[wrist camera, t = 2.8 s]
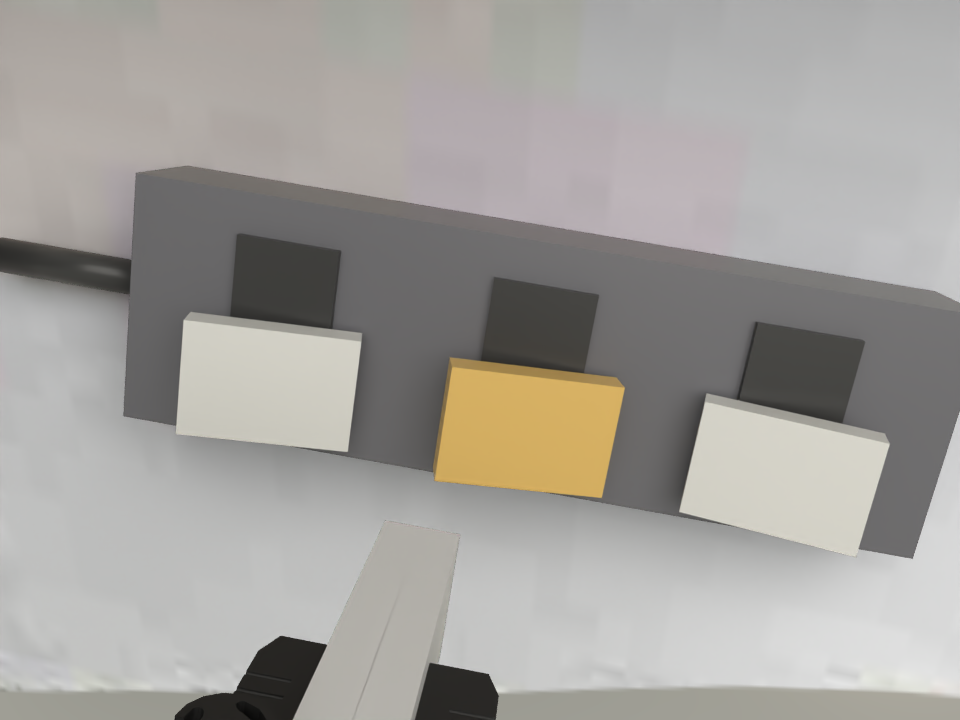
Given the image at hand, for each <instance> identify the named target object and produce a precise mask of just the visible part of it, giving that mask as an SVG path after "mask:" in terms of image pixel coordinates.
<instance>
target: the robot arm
mask: <svg viewBox="0 0 960 720" xmlns="http://www.w3.org/2000/svg"><path fill="white" fill-rule="evenodd" d="M459 538H460V534H455V533H450V532H445V531H439V530H434V529H429V528H424V527H418V526H413V525H408V524H402V523H397V522H392V521H386V520H385V522H384V524H383V526H382V528H381V531H380V533H379V535H378V537H377V539H376V541H375V543H374V546H373V548H372V550H371V552H370V554H369V556H368V559H367V561H366V563H365V565H364V567H363V569H362V572H361V574H360V576H359V578H358V580H357V582H356V584H355V587H354V589H353V591H352V593H351V595H350V597H349V600H348V602H347V604H346V606H345V608H344V610H343V613H342V615H341V617H340V619H339V621H338V623H337V626H336V628H335V630H334V632H333V634H332V636H331V638H330V641H329V643H328V645H325V644H320V643H315V642H310V641H305V640H300V639H295V638H290V637H285V636H280V637H278V638H277V639H275V640H274V641H272V642H271V643H269V644H268V645H266V646H265V647H263V648H262V649H260V650H259V651H258V652H257V654H256V656H255V657H254V659H253V661H252V663H251V664H250V666H249V668H248V669H247V672H246V675H244V676H243V678H242V680H241V681H240V683H239V685H238V686H237V690H236V691H234V693H233V694H231V693H220V694H214V695H208V696H203V697H201V698H199V699H197V700H195V701H193V702H190V703H188V704H187V705H186V706H184V707H183V708H182V709H181V710H180V711H179V712H178V713H177V714H176V715H175V720H496V713H497V704H498V697H499V696H498V693H497V691H496V689H495V687H494V685H493V683H492V680H491V678H490V676H489V674H485V673H480V672H475V671H470V670H465V669H460V668H454V667H449V666H444V665H439V664H438V662H439V658H440V653H441V647H442V641H443V635H444V629H445V623H446V617H447V611H448V605H449V599H450V593H451V587H452V581H453V575H454V569H455V563H456V557H457V551H458V544H459Z"/></svg>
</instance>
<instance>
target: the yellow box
mask: <svg viewBox="0 0 960 720" xmlns="http://www.w3.org/2000/svg"><path fill="white" fill-rule="evenodd" d="M624 390H625V387H624V386H623V385H622V384H621V382H620V381H619V380H618V379H617V377H608V376H600V375H592V374H584V373H575V372H567V371H559V370H551V369H542V368H534V367H526V366H518V365H509V364H501V363H493V362H485V361H477V360H468V359H460V358H452V357H450V359H449V365H448V372H447V378H446V385H445V391H444V398H443V405H442V411H441V418H440V424H439V431H438V437H437V444H436V450H435V457H434V463H433V472H434V480H435V481H440V482H450V483H460V484H469V485H479V486H489V487H499V488H509V489H519V490H529V491H538V492H548V493H558V494H568V495H578V496H588V497H598V498H602V494H603V490H604V485H605V480H606V475H607V471H608V466H609V461H610V456H611V452H612V447H613V442H614V437H615V433H616V428H617V423H618V418H619V414H620V409H621V404H622V399H623V395H624Z"/></svg>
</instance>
